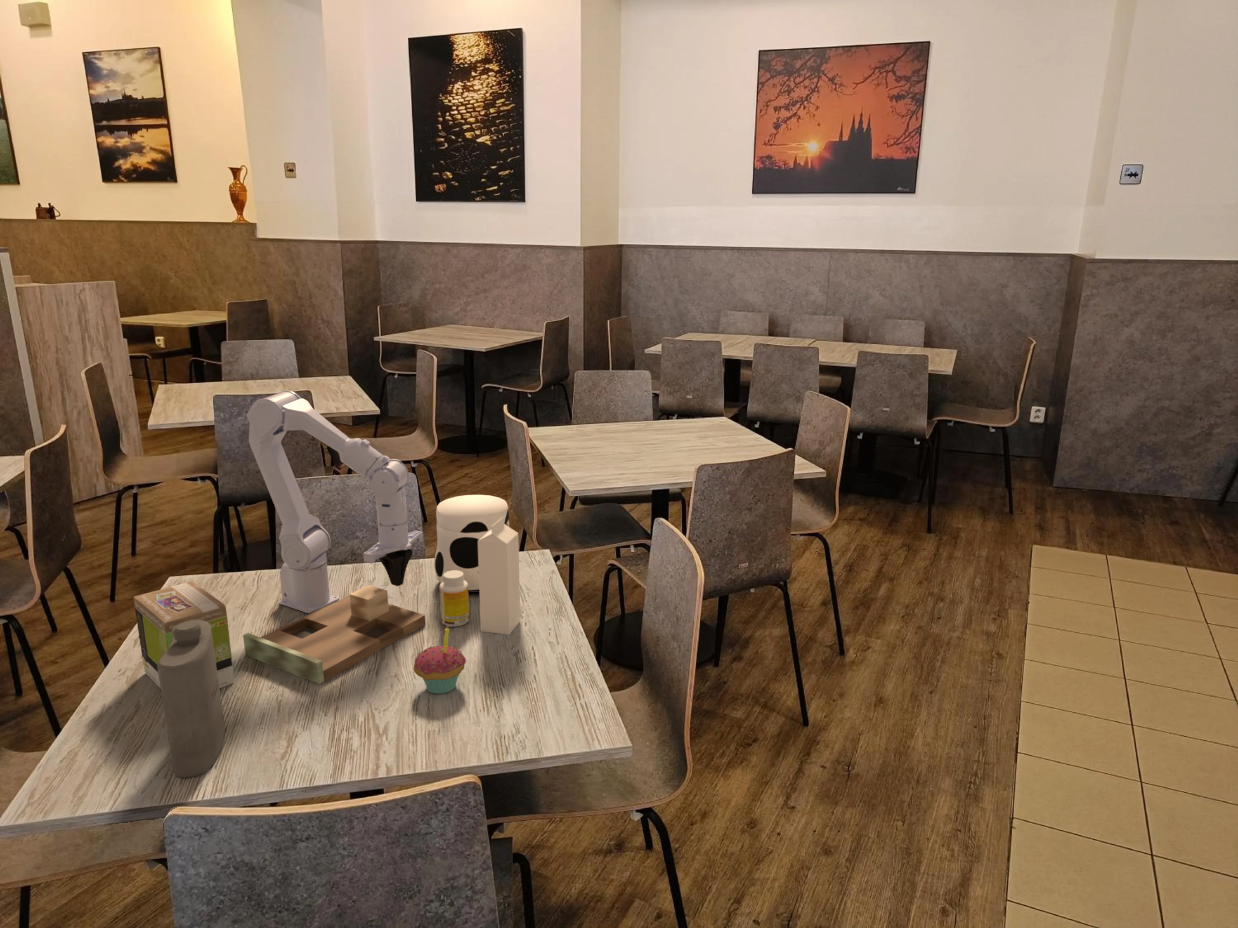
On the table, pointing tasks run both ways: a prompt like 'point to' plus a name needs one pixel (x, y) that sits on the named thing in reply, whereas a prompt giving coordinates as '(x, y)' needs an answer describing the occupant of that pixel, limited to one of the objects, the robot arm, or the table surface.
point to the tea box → (171, 609)
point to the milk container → (465, 533)
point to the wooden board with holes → (330, 640)
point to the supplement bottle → (454, 599)
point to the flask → (192, 699)
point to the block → (369, 602)
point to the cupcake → (440, 666)
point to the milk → (499, 579)
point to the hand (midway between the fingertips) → (397, 584)
